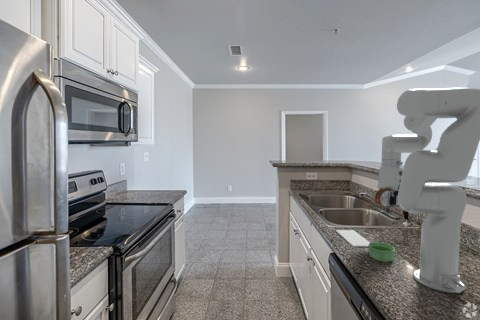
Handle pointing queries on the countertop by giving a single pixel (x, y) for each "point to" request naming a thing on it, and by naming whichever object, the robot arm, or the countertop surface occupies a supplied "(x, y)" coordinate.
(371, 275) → the countertop surface
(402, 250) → the countertop surface
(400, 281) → the countertop surface
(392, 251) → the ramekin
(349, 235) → the mat
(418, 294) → the countertop surface
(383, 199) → the tin
